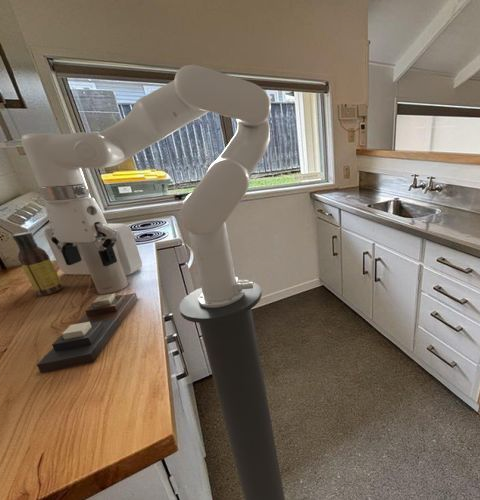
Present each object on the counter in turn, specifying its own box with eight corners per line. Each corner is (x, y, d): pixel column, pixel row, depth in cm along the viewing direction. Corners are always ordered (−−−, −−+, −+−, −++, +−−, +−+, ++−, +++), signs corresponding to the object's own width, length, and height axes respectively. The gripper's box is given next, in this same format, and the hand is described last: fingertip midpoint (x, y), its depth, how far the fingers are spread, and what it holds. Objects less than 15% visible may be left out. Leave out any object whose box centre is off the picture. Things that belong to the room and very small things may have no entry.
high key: (92, 327, 67) (89, 321, 66) (84, 336, 63) (81, 330, 63) (73, 331, 66) (70, 324, 65) (64, 340, 62) (61, 334, 62)
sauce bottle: (68, 285, 95) (43, 229, 88) (54, 294, 90) (26, 235, 83) (46, 288, 94) (19, 231, 87) (30, 297, 89) (0, 237, 81)
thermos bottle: (91, 295, 89) (56, 207, 79) (107, 283, 96) (76, 202, 86) (119, 292, 90) (88, 205, 80) (132, 281, 98) (105, 200, 88)
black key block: (119, 325, 73) (114, 312, 72) (93, 362, 61) (86, 347, 59) (76, 333, 71) (70, 319, 69) (40, 373, 58) (32, 357, 57)
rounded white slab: (55, 277, 102) (33, 229, 96) (76, 268, 109) (57, 223, 103) (127, 278, 100) (111, 229, 93) (144, 269, 107) (129, 223, 100)
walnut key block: (137, 299, 86) (133, 287, 84) (119, 325, 73) (114, 312, 72) (102, 305, 83) (97, 293, 82) (76, 333, 71) (70, 319, 69)
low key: (116, 299, 79) (114, 293, 78) (111, 305, 76) (108, 299, 75) (101, 301, 78) (98, 296, 77) (94, 308, 75) (92, 302, 74)
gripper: (116, 190, 66) (137, 258, 72) (50, 190, 67) (76, 257, 73) (84, 196, 59) (111, 271, 65) (12, 196, 60) (44, 269, 66)
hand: (92, 263), depth 69 cm, fingers open, 9 cm apart
